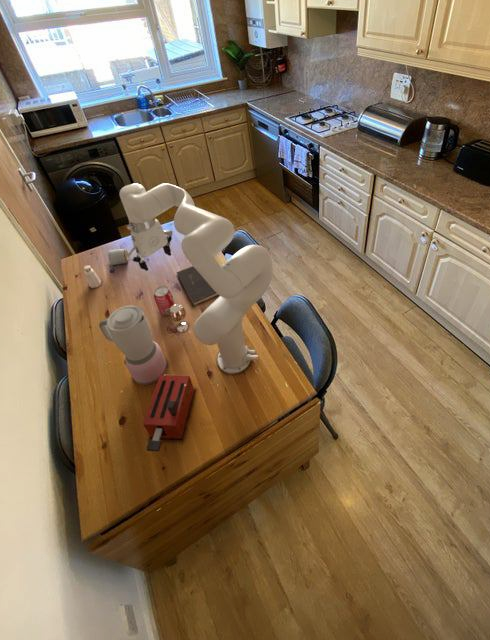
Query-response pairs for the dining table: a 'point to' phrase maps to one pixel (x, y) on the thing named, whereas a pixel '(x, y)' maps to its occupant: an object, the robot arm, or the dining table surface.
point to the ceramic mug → (118, 256)
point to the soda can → (163, 299)
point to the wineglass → (178, 316)
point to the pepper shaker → (92, 277)
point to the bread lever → (155, 441)
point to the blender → (135, 343)
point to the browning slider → (172, 407)
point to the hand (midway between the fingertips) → (156, 261)
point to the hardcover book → (196, 286)
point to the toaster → (158, 412)
